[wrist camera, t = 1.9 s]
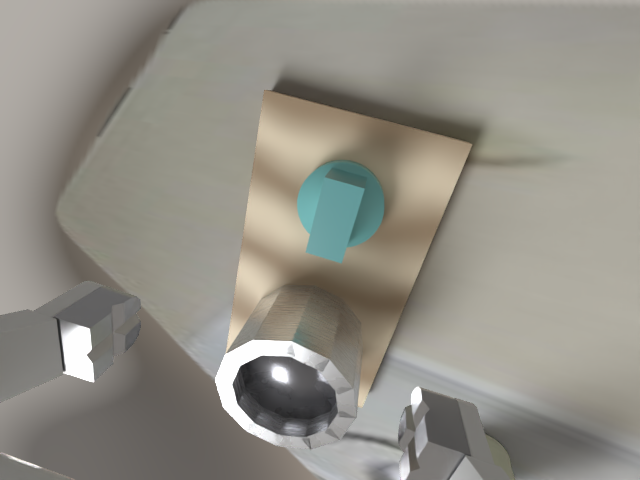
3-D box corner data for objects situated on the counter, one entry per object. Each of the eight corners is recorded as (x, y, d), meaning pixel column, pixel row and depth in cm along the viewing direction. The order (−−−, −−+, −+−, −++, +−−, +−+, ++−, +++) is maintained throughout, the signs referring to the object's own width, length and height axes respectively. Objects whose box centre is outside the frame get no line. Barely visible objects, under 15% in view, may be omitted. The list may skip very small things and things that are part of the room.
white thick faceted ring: (317, 265, 26) (295, 317, 20) (384, 352, 28) (384, 425, 22) (232, 315, 30) (190, 373, 23) (297, 390, 32) (275, 461, 25)
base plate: (271, 90, 23) (264, 89, 22) (467, 141, 22) (472, 144, 21) (231, 351, 34) (224, 362, 32) (363, 395, 32) (362, 407, 31)
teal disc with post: (312, 149, 23) (296, 160, 19) (396, 173, 22) (398, 189, 18) (294, 226, 25) (277, 251, 21) (369, 249, 25) (366, 278, 21)
